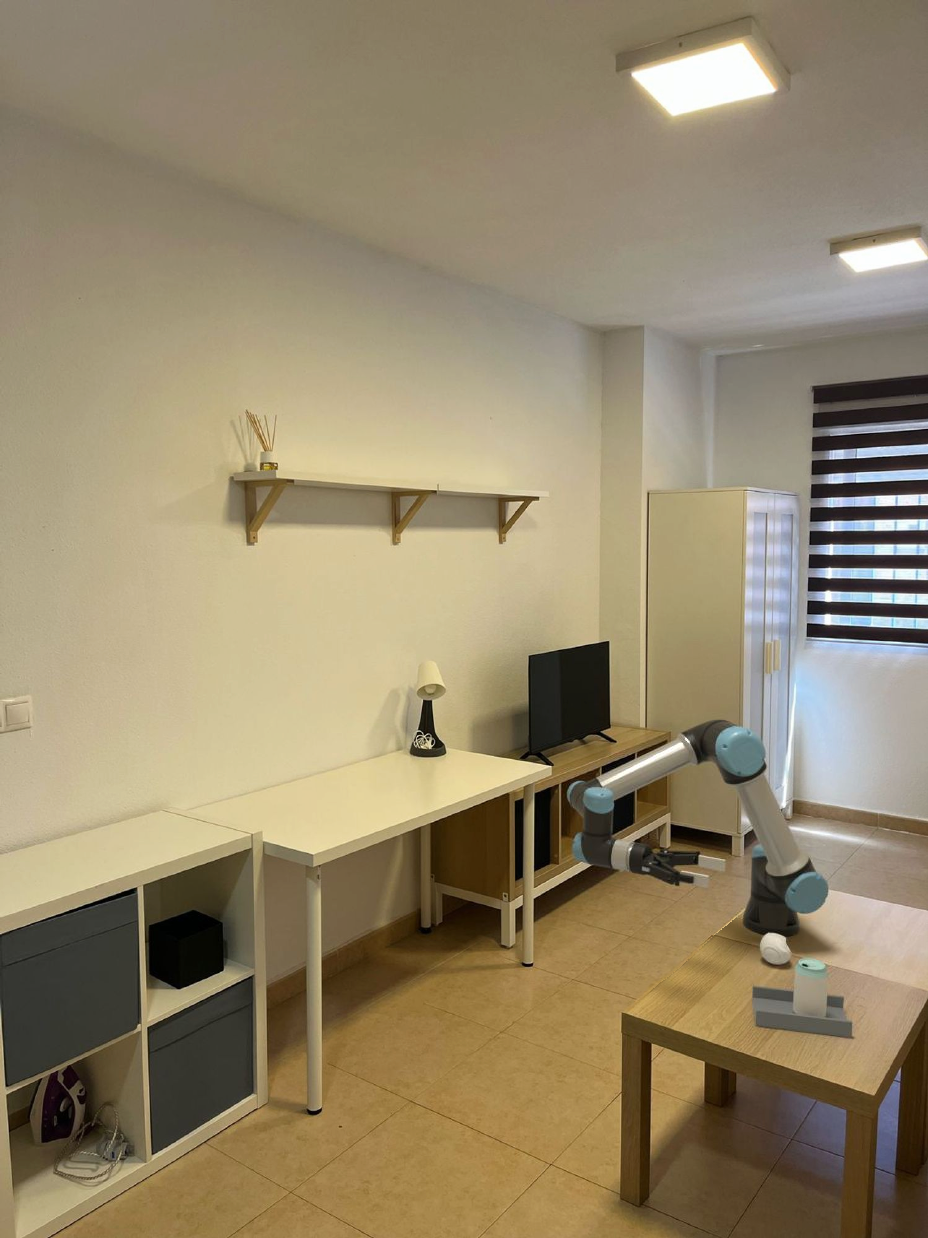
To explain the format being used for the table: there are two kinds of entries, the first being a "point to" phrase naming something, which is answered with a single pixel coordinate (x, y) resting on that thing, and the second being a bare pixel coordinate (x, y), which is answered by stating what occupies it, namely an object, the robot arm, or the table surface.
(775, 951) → the cream rounded lump
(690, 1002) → the table surface
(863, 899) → the table surface
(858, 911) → the table surface
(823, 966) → the can
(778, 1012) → the duct channel
